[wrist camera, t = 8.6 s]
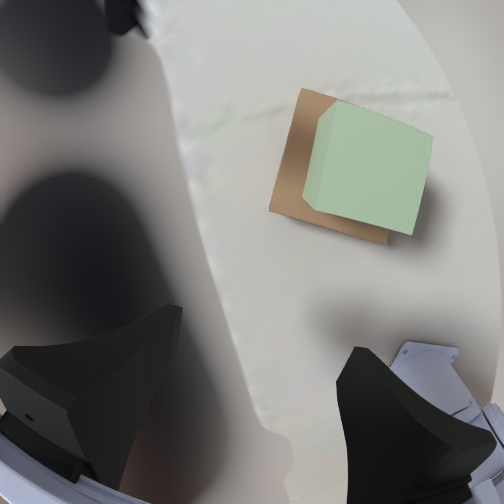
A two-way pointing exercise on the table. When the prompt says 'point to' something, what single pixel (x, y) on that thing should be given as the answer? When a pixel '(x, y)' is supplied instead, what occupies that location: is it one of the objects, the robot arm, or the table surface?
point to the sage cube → (368, 167)
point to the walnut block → (296, 169)
